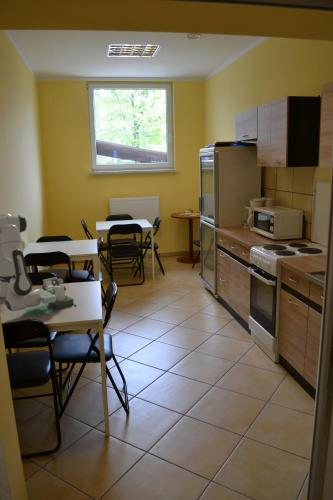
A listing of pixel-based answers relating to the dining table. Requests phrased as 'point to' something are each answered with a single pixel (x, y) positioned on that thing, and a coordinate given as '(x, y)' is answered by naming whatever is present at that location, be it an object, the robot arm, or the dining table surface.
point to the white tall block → (59, 290)
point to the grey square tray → (62, 303)
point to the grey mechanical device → (51, 283)
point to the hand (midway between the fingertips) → (56, 292)
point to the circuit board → (44, 310)
